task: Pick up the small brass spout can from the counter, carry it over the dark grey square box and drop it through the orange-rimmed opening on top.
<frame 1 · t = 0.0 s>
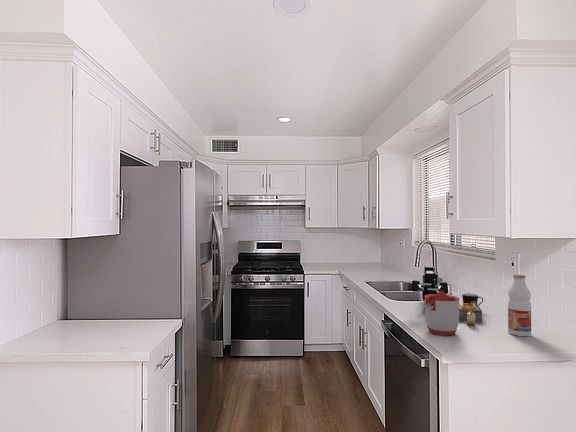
hand: (429, 289, 200), 17 cm above the counter, tool horizontal, fingers open, 9 cm apart
coffee mug: (472, 312, 219), on the counter
citrus juicer: (440, 333, 177), on the counter
grey square box: (468, 318, 203), on the counter
fruit juice: (519, 334, 176), on the counter
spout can: (471, 325, 190), on the counter
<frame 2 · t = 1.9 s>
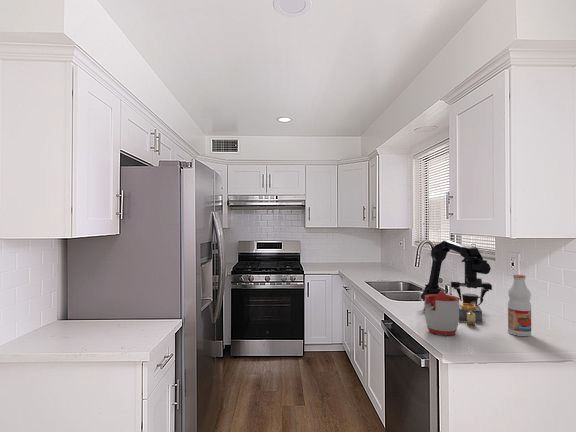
hand: (470, 301, 191), 12 cm above the counter, tool pointing down, fingers open, 9 cm apart
nothing on the counter moved.
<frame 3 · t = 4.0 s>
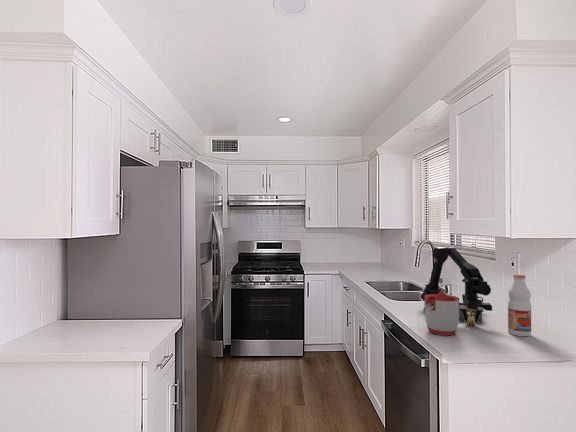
hand: (471, 322, 190), 2 cm above the counter, tool pointing down, fingers closed on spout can, 4 cm apart
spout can: (471, 325, 190), on the counter, touching gripper
everything else where it was.
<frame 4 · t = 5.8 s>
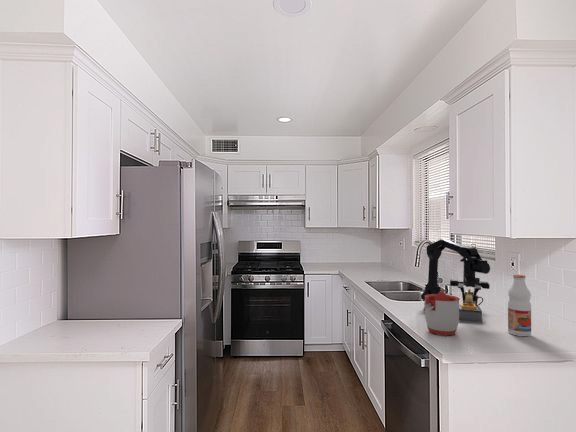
hand: (468, 300, 198), 11 cm above the counter, tool pointing down, fingers closed on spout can, 4 cm apart
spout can: (468, 302, 198), point 10 cm above the counter, touching gripper
everything else where it was.
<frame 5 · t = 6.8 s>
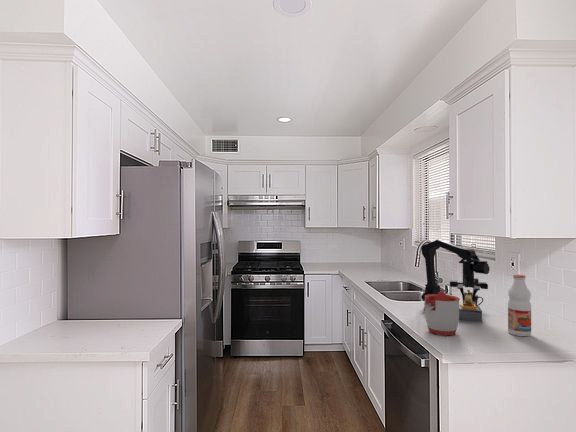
hand: (468, 300, 204), 10 cm above the counter, tool pointing down, fingers closed on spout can, 4 cm apart
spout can: (468, 303, 204), point 8 cm above the counter, touching gripper
everything else where it was.
when the fingers open (10 cm above the counter, at t = 7.6 s): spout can drops 8 cm, resting in grey square box.
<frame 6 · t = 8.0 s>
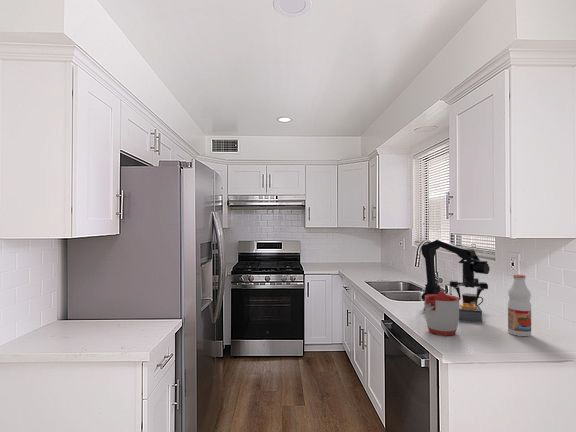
hand: (468, 300, 204), 10 cm above the counter, tool pointing down, fingers open, 8 cm apart
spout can: (468, 318, 203), resting in grey square box
everything else where it was.
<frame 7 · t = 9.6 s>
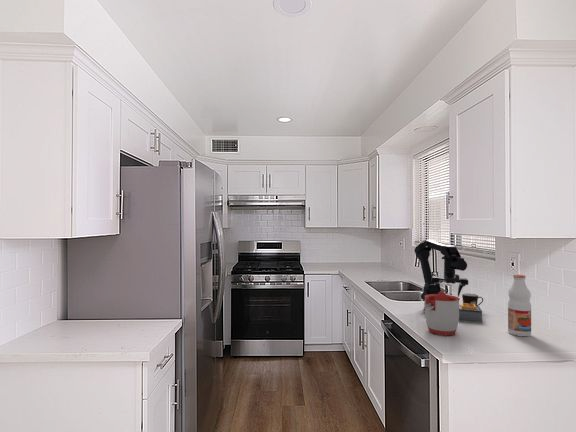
hand: (449, 295, 207), 12 cm above the counter, tool pointing down, fingers open, 9 cm apart
nothing on the counter moved.
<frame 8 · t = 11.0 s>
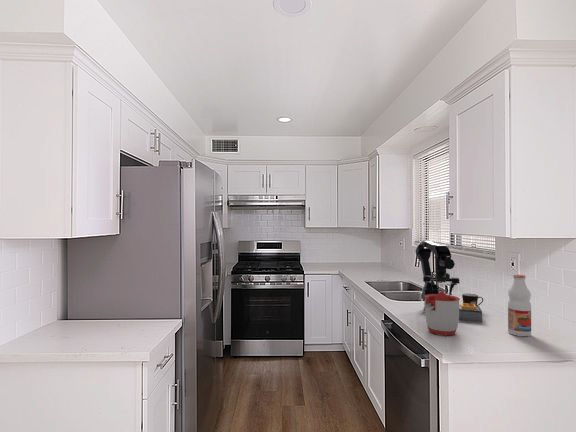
hand: (440, 294, 209), 12 cm above the counter, tool pointing down, fingers open, 9 cm apart
nothing on the counter moved.
at the end: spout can 0.1 cm off-centre on the grey square box, point 0.0 cm above the grey square box's base; the gripper is holding nothing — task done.
